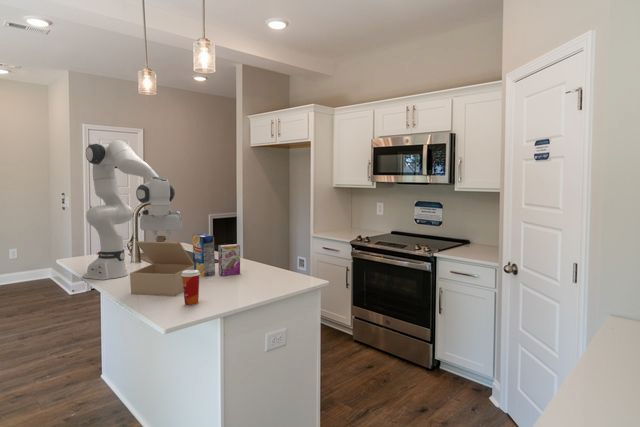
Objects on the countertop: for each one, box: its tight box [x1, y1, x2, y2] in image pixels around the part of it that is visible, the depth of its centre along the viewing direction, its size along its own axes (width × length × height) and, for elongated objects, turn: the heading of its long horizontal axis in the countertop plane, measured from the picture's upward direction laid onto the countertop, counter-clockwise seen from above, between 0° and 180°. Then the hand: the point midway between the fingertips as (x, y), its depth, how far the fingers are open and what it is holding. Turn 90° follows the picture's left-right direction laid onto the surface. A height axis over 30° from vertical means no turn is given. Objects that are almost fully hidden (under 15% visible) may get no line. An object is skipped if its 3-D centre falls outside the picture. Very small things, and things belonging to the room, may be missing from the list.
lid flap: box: [134, 235, 194, 265], centre depth 205 cm, size 22×20×5 cm
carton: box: [129, 263, 194, 297], centre depth 202 cm, size 22×20×10 cm
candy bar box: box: [217, 243, 241, 277], centre depth 231 cm, size 11×5×16 cm, turn 124°
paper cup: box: [181, 270, 200, 306], centre depth 180 cm, size 8×8×14 cm
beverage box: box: [191, 233, 216, 278], centre depth 231 cm, size 7×11×22 cm, turn 47°
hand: (162, 239), depth 200 cm, fingers closed on lid flap, 3 cm apart
